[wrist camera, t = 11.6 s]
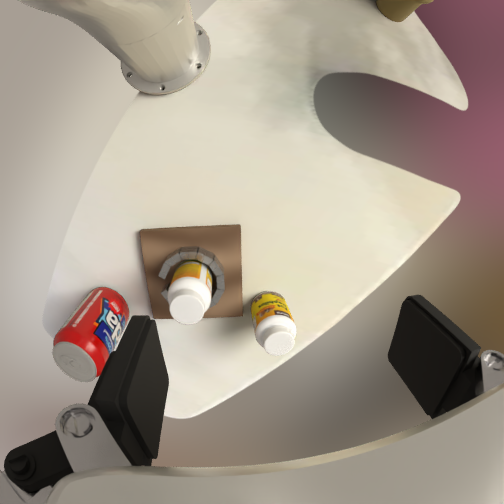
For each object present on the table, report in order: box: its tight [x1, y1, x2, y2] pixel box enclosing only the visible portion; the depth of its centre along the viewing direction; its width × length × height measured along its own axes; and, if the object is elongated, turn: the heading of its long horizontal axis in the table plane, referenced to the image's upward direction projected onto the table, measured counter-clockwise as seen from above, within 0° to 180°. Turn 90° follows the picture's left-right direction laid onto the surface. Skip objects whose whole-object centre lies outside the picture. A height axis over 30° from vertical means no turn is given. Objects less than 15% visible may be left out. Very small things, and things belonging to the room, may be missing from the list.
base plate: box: [140, 225, 243, 319], centre depth 40 cm, size 14×14×1 cm
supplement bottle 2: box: [251, 291, 296, 356], centre depth 39 cm, size 6×6×10 cm
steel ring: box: [158, 246, 225, 309], centre depth 38 cm, size 9×9×2 cm
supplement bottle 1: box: [168, 259, 212, 325], centre depth 35 cm, size 5×5×10 cm
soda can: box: [53, 287, 129, 382], centre depth 34 cm, size 8×8×15 cm
